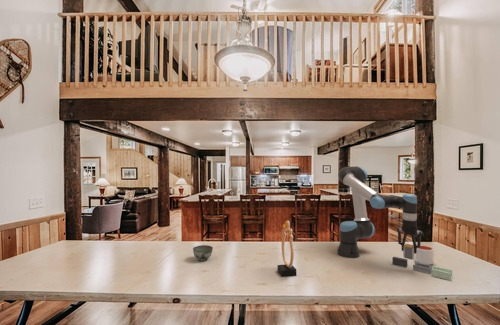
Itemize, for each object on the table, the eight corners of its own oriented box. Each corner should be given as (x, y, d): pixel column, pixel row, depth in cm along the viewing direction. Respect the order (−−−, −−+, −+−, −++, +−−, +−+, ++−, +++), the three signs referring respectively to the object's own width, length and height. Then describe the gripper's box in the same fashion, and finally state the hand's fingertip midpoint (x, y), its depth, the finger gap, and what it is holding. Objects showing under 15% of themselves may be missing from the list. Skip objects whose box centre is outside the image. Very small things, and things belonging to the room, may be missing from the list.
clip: (413, 270, 161) (412, 265, 161) (415, 266, 166) (415, 262, 166) (430, 274, 155) (430, 269, 155) (432, 270, 160) (432, 265, 160)
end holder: (431, 276, 152) (431, 269, 152) (433, 272, 158) (433, 265, 158) (450, 280, 146) (450, 273, 146) (452, 276, 151) (452, 269, 152)
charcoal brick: (392, 264, 171) (392, 257, 171) (393, 263, 173) (393, 256, 173) (406, 267, 165) (406, 260, 165) (407, 266, 167) (407, 259, 168)
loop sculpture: (275, 268, 163) (275, 218, 164) (288, 267, 165) (288, 217, 166) (284, 280, 147) (284, 224, 147) (299, 278, 149) (299, 223, 149)
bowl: (188, 261, 175) (188, 249, 175) (199, 255, 188) (199, 244, 188) (206, 264, 170) (206, 252, 170) (216, 257, 183) (216, 246, 183)
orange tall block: (404, 257, 160) (404, 244, 160) (405, 256, 163) (406, 243, 163) (411, 259, 157) (412, 246, 157) (413, 257, 160) (413, 245, 160)
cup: (436, 266, 168) (436, 250, 168) (419, 264, 170) (419, 249, 170) (429, 260, 177) (428, 246, 178) (412, 259, 179) (412, 245, 180)
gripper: (392, 218, 163) (391, 255, 163) (424, 222, 151) (424, 262, 151) (395, 216, 168) (395, 252, 168) (427, 220, 157) (426, 259, 157)
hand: (408, 257), depth 160 cm, fingers closed on orange tall block, 4 cm apart
